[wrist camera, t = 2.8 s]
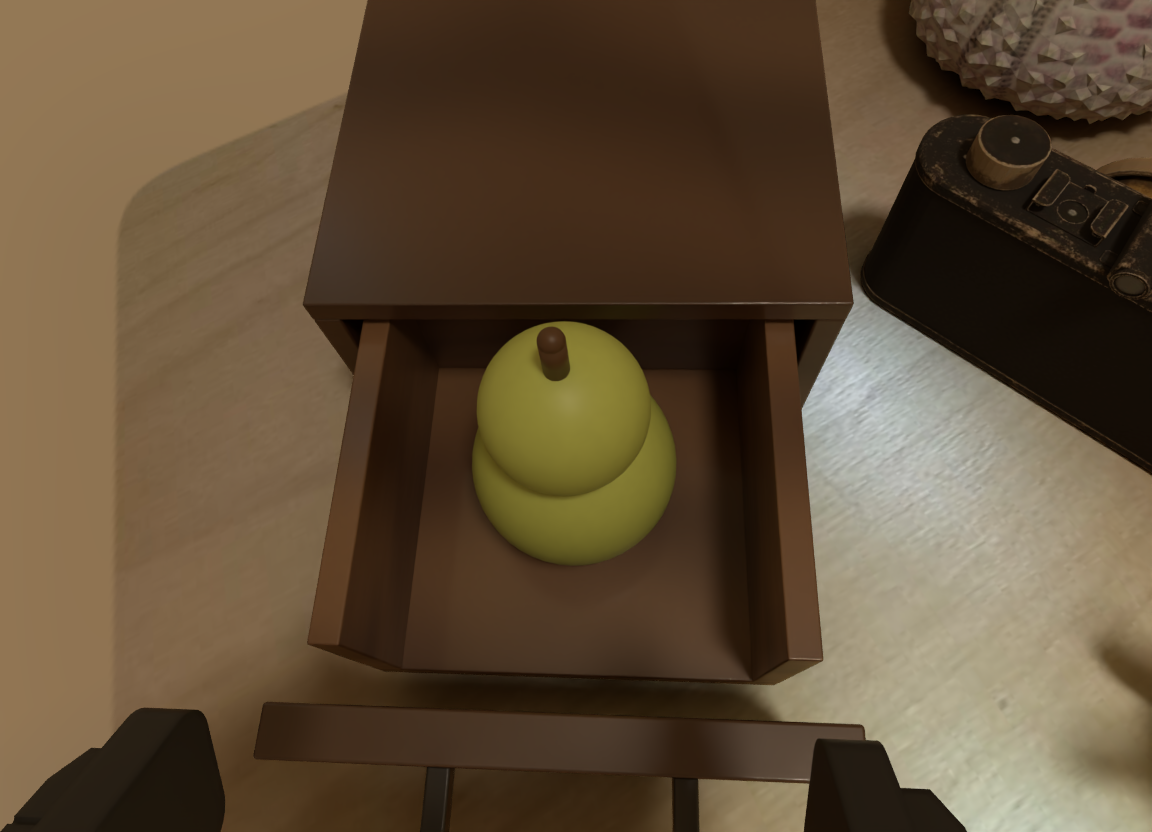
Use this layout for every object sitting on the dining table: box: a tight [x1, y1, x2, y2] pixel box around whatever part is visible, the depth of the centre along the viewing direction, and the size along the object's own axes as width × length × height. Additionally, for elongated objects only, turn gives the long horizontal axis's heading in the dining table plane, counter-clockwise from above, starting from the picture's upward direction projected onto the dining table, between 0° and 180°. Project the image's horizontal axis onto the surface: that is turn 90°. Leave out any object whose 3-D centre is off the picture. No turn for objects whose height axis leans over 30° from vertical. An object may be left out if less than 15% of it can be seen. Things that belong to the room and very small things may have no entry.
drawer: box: [254, 319, 866, 832], centre depth 21 cm, size 18×13×7 cm
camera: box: [861, 114, 1152, 472], centre depth 24 cm, size 16×7×8 cm, turn 49°
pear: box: [472, 321, 676, 566], centre depth 20 cm, size 6×6×11 cm
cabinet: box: [303, 0, 854, 409], centre depth 27 cm, size 15×15×9 cm
